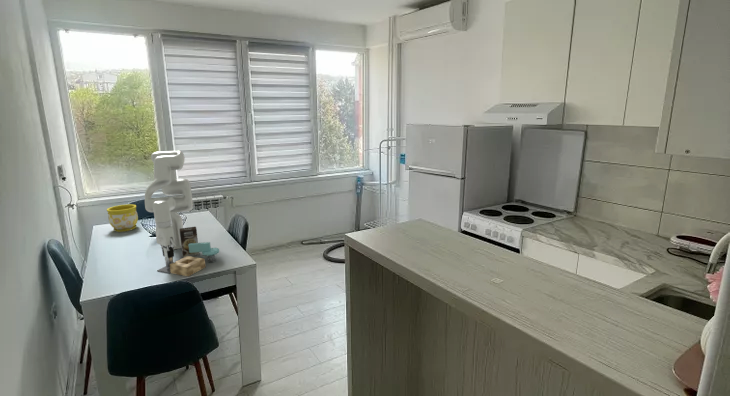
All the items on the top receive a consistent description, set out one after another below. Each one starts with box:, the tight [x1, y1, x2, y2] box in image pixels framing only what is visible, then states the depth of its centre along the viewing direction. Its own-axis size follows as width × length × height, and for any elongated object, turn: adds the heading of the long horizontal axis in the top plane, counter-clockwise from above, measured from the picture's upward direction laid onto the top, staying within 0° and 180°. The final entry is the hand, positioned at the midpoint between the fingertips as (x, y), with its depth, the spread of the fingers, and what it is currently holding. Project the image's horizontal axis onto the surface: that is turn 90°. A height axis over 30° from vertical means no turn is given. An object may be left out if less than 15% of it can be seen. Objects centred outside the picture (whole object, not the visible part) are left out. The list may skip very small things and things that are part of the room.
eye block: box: [170, 256, 206, 277], centre depth 199 cm, size 12×12×5 cm
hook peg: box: [163, 246, 175, 268], centre depth 199 cm, size 4×4×11 cm
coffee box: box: [179, 226, 200, 258], centre depth 219 cm, size 9×6×16 cm
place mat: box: [157, 265, 172, 274], centre depth 201 cm, size 9×9×1 cm
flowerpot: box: [106, 203, 139, 233], centre depth 268 cm, size 18×18×16 cm
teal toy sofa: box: [188, 241, 220, 263], centre depth 209 cm, size 16×9×11 cm, turn 100°
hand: (168, 256), depth 199 cm, fingers closed on hook peg, 3 cm apart
